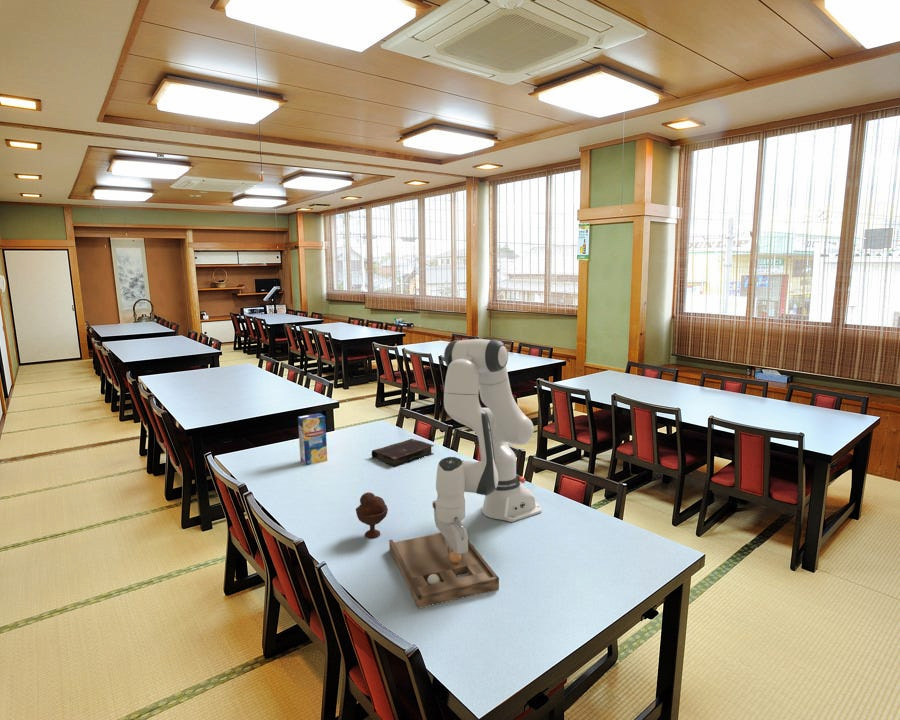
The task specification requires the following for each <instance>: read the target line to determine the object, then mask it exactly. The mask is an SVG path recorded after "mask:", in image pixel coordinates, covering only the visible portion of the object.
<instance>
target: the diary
mask: <svg viewBox="0 0 900 720" xmlns="http://www.w3.org/2000/svg"><path fill="white" fill-rule="evenodd" d="M434 446H435V445H433V444H432V443H428V442H425V441H422V440H418V439H414V438H410V439H407V440H404V441H401V442H397V443H393V444H390V445H386V446H384V447H379V448H376V449H373V450H371V458H372V459H374V458H375V459H377V460H379V461H381V462H384V464H386V465H387V466H389V467H392V468H393V467H395V468H396V467H400V466H402V465H405V464H409V463H411V462H415V461H417V460H421V459H422V457H423V458H425V457H424V456H427V457H430V456H432V455H433V456H434V453H433V452H432V447H434ZM419 458H420V459H419Z"/></svg>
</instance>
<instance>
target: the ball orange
mask: <svg viewBox="0 0 900 720" xmlns="http://www.w3.org/2000/svg"><path fill="white" fill-rule="evenodd" d="M450 560H451V562H453V563H458V562H460V560H461V555H457V554H456V553H455V552H454V551H452V552H451V553H450Z"/></svg>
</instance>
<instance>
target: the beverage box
mask: <svg viewBox="0 0 900 720" xmlns="http://www.w3.org/2000/svg"><path fill="white" fill-rule="evenodd" d="M326 422H327V421H326V416H325V415H324V414H322V413H320V412H318V413H314V414H307V415H302V416H301V415H300V416H297V423H298V425H297V427H298V440H299V443H298V444H299V456H300V458H299V459H300V462H301V463H302V464H303V465H304V466H311V465H314V464H319V463H324V462H328V447H327V445H328V444H327V427H326V426H327V425H326Z"/></svg>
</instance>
